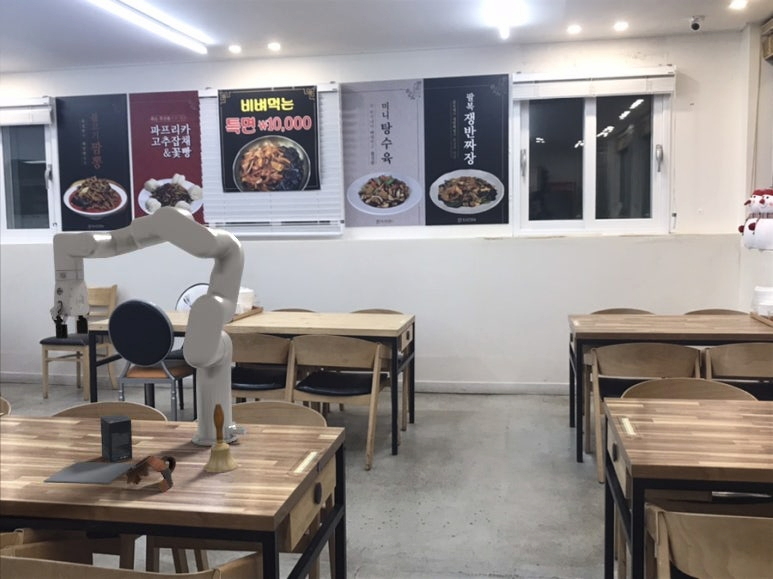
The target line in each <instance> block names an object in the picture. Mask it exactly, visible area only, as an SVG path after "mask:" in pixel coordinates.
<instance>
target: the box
mask: <svg viewBox="0 0 773 579" xmlns="http://www.w3.org/2000/svg"><path fill="white" fill-rule="evenodd" d="M132 428H133V427H132V419H131V418H129V417H128V416H126V415H125V414H123V413H119V414H112V415H107V416H101V417H100V435H101V438H100V439H101V457H102V458H104V459H105V460H106V461H108V463H121V462H124V461H128V460H132V459H133V436H132V435H133V434H132V433H133V432H132V430H133V429H132Z"/></svg>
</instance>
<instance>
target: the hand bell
mask: <svg viewBox="0 0 773 579" xmlns="http://www.w3.org/2000/svg"><path fill="white" fill-rule="evenodd" d="M213 419H214V424H215V427H216V437H217V438H216V440H217V443H216V444H215V445H213V446H211V447H210V454H209V459H208V460H207V462H206V463H205V465H203V466H204V467H203V470H204V471H205V472H206V473H210V474H222V473H223V474H224V473H228V472H231V471H234V470H236V469H237V468H238V466H239V464H238V462H237V461H236V460H235V459H234V458H233V456H232V453H231V448H230V445H229V443H227V444H226V443H224V440H223V424H224V412H223V409H222V407H221V404H216V405H215V410H214V414H213Z"/></svg>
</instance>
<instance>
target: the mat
mask: <svg viewBox="0 0 773 579" xmlns="http://www.w3.org/2000/svg"><path fill="white" fill-rule="evenodd" d="M136 464H137V463H126V462H124V463H123V462H113V463H110V462H95V461H93V462H89V461H88V462H87V461H76V462H74V463H73V464H70V465H69V466H67V467H66V468H64V469H62V470H61V471H59V472H56V473H55V474H53V475H52V476H50V477H48V478H46V479H44V480H43V482H44V483H64V484H65V483H68V484H70V483H71V484H95V485H96V484H101V485H102V484H103V485H104V484H105V485H109V484H111V483H112V482H114V481H116V480H117V479H119V477H121V476H122V475H125V473H126V472H127V471H128V470H129V469H130V468H133V469H134V468H135V467H136Z"/></svg>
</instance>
